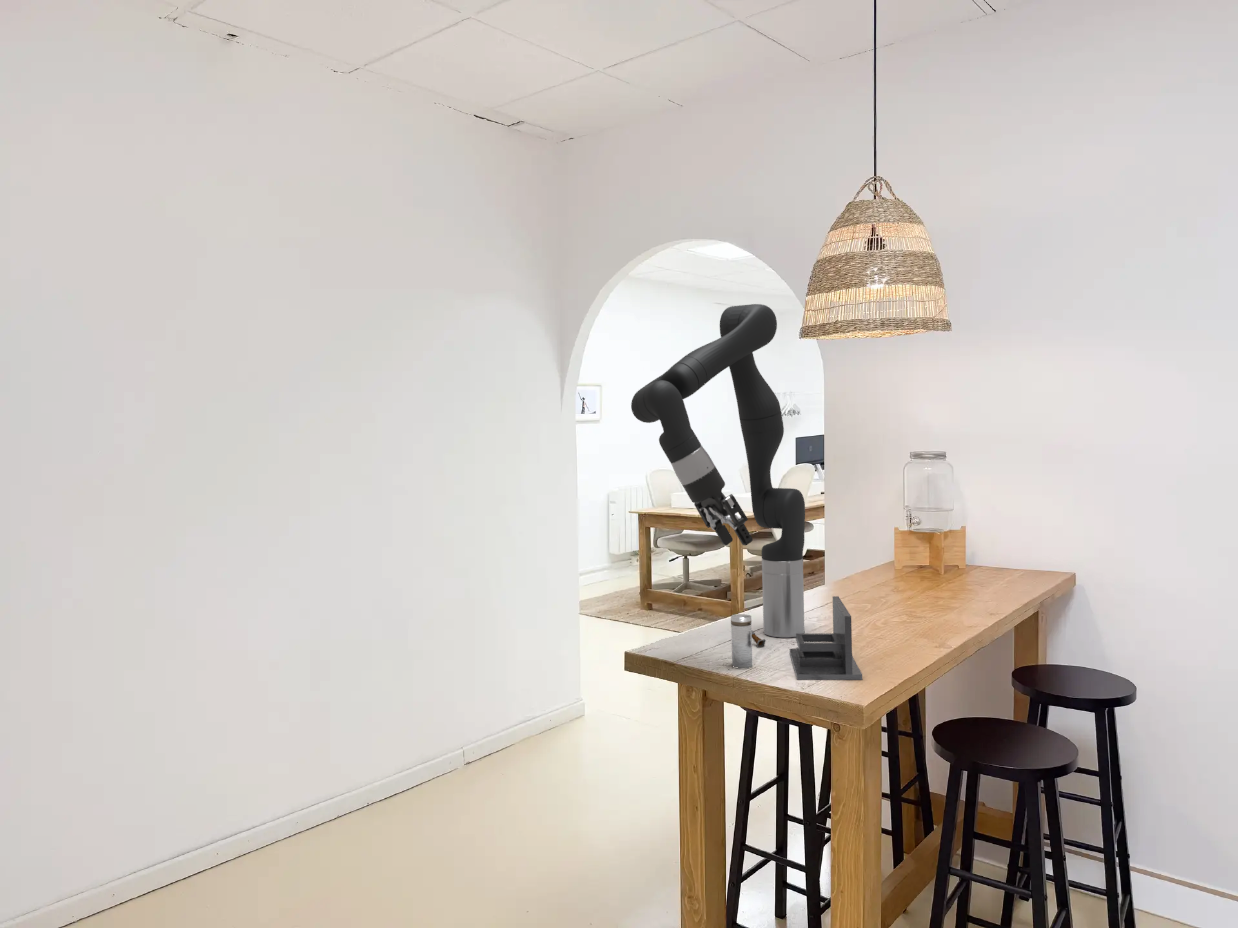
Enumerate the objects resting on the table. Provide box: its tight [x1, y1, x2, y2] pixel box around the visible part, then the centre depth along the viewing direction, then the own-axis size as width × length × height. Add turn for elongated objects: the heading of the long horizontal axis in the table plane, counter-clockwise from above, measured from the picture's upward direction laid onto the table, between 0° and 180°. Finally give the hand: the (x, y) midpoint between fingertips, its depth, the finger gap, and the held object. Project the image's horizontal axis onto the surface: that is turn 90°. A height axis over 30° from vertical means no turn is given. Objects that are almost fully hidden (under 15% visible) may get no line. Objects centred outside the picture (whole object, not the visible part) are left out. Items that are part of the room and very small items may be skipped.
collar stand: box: [789, 595, 863, 681], centre depth 169 cm, size 18×12×12 cm, turn 173°
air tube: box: [730, 613, 753, 669], centre depth 171 cm, size 4×4×10 cm
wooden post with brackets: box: [752, 630, 766, 648], centre depth 189 cm, size 2×8×4 cm, turn 30°
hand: (738, 543), depth 170 cm, fingers open, 8 cm apart
